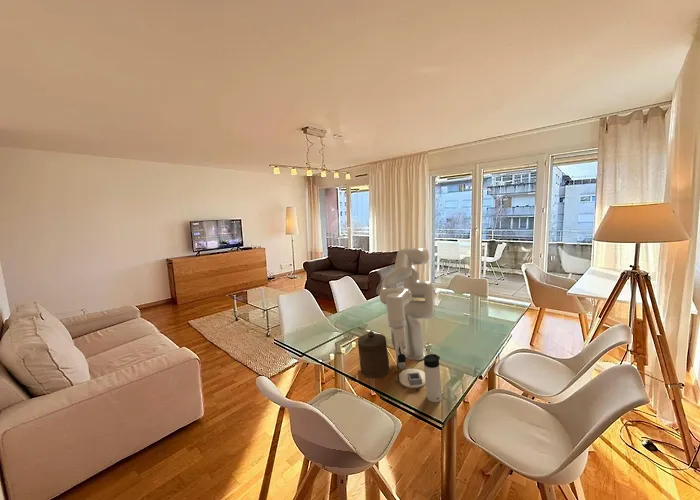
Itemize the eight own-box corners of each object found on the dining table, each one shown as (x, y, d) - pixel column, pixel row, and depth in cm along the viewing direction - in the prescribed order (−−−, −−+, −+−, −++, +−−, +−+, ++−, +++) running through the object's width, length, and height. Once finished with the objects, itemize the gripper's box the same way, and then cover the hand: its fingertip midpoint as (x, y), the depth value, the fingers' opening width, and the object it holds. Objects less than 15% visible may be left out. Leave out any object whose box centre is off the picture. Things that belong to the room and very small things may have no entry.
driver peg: (397, 365, 128) (393, 343, 127) (404, 364, 128) (400, 342, 127) (398, 369, 125) (394, 347, 123) (406, 368, 125) (402, 345, 123)
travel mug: (442, 406, 117) (439, 361, 114) (426, 403, 119) (422, 359, 116) (443, 396, 122) (440, 353, 120) (427, 394, 125) (424, 352, 122)
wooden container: (371, 361, 157) (367, 324, 154) (395, 368, 147) (391, 329, 144) (355, 375, 146) (350, 335, 143) (379, 384, 136) (374, 341, 133)
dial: (397, 373, 141) (396, 365, 140) (422, 370, 141) (422, 362, 140) (402, 389, 128) (401, 381, 127) (430, 386, 128) (430, 378, 127)
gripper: (385, 315, 131) (389, 351, 134) (391, 331, 115) (396, 371, 118) (401, 313, 131) (405, 349, 134) (409, 328, 115) (413, 369, 118)
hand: (401, 359), depth 126 cm, fingers closed on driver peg, 3 cm apart
